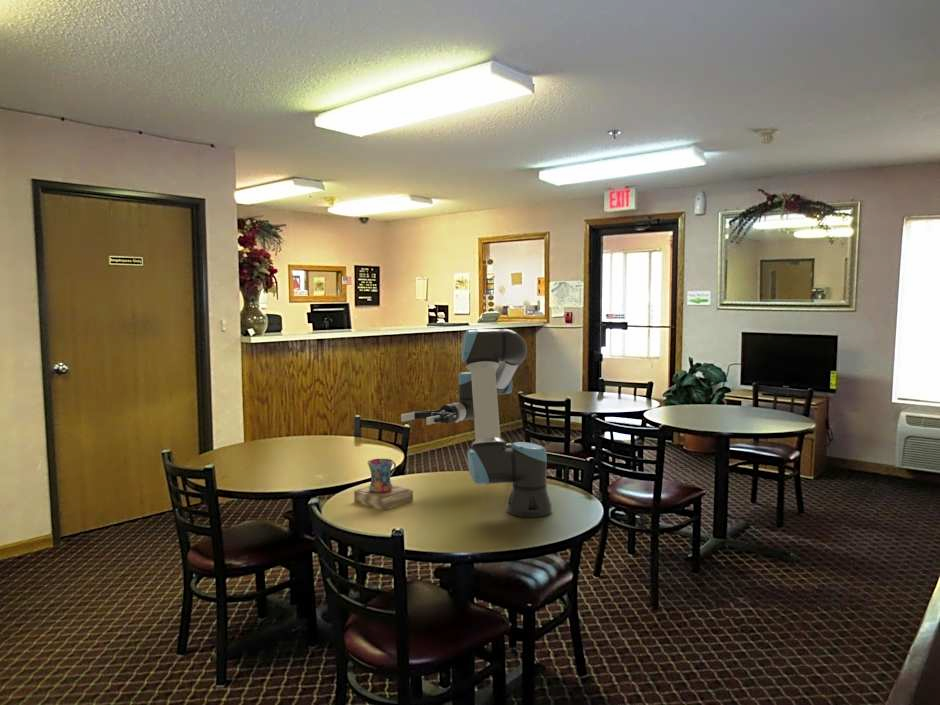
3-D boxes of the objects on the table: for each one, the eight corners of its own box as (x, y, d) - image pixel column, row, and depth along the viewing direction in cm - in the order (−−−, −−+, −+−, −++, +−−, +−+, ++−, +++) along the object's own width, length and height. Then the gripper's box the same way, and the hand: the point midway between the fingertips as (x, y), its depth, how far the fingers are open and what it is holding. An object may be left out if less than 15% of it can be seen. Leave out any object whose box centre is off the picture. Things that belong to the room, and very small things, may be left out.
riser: (412, 500, 234) (412, 489, 234) (383, 510, 224) (383, 498, 223) (383, 492, 245) (383, 481, 244) (354, 501, 234) (354, 489, 234)
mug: (380, 495, 226) (379, 466, 225) (362, 491, 232) (361, 462, 231) (404, 488, 235) (404, 459, 235) (387, 483, 241) (386, 455, 241)
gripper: (476, 425, 250) (438, 432, 234) (429, 419, 266) (391, 426, 250) (475, 406, 250) (438, 412, 234) (429, 401, 266) (391, 407, 250)
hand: (414, 419), depth 242 cm, fingers open, 13 cm apart
